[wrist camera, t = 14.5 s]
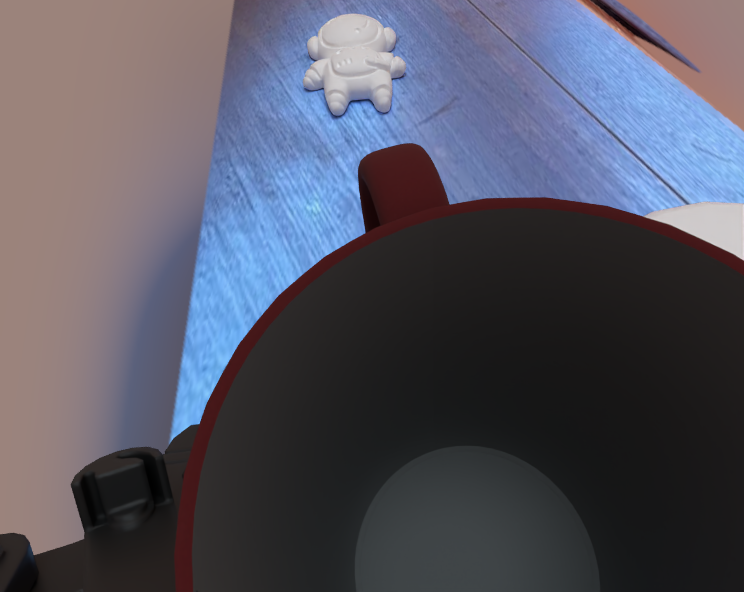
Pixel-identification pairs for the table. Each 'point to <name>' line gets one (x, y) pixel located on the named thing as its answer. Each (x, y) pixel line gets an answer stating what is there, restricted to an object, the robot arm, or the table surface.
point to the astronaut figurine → (353, 62)
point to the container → (709, 223)
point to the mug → (479, 408)
